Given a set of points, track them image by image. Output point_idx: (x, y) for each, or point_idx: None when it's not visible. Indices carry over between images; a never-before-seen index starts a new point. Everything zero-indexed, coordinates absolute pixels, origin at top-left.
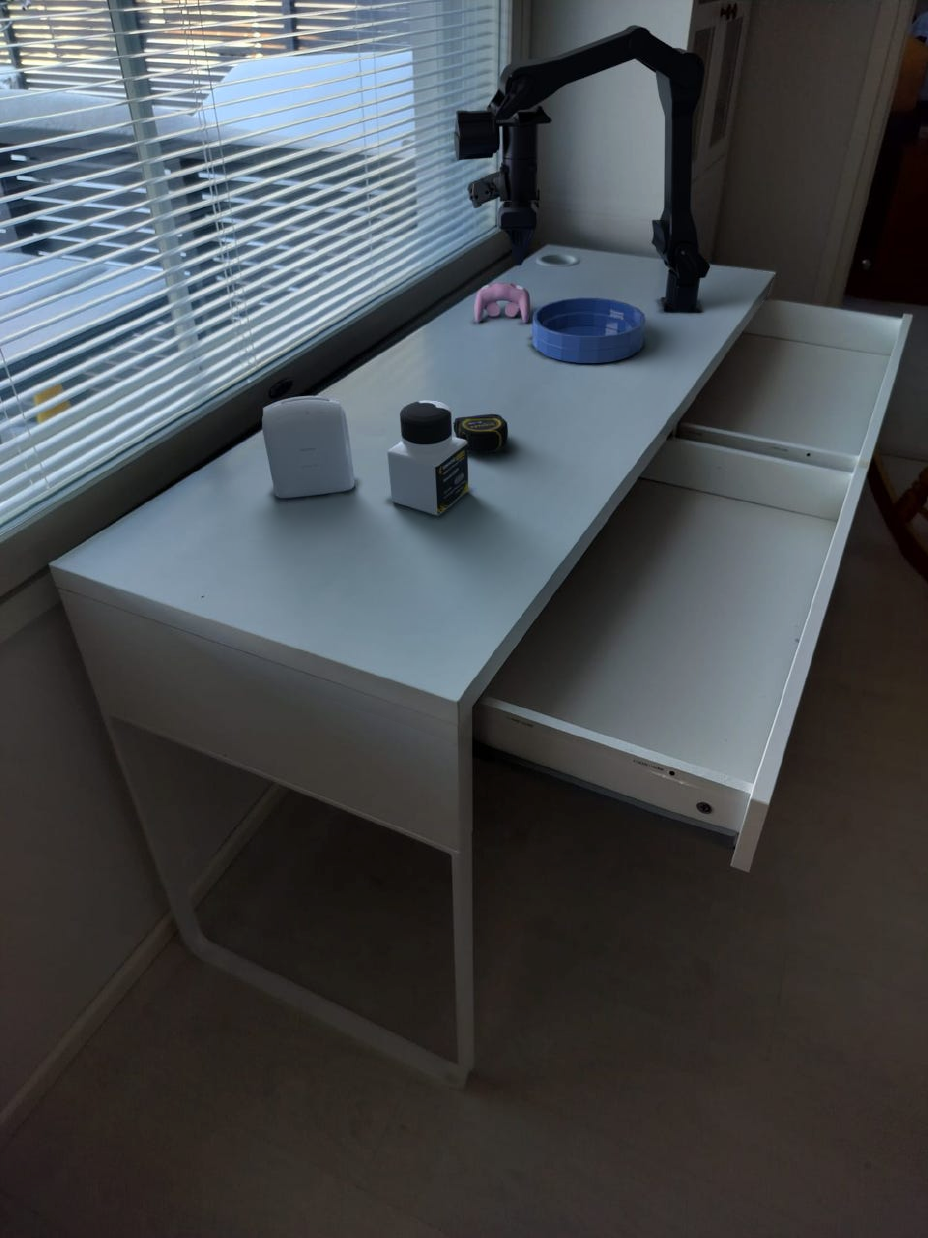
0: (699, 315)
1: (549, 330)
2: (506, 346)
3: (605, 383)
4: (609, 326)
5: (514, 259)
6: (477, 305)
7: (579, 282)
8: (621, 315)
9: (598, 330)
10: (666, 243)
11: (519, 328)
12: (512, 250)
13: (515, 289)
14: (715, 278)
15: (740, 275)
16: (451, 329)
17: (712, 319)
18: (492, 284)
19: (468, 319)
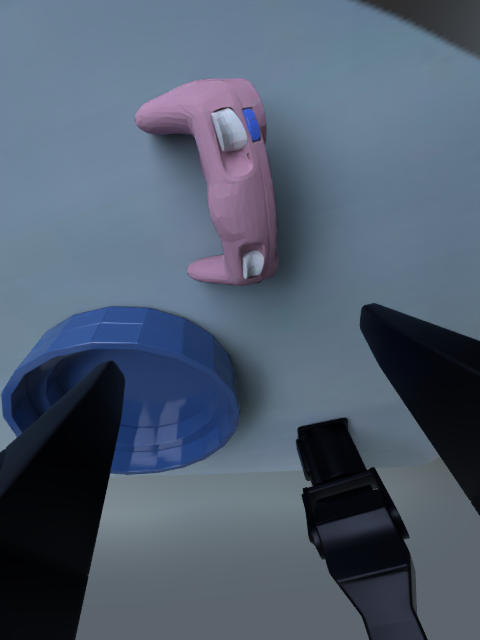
0: (291, 450)
1: (3, 395)
2: (33, 262)
3: (7, 429)
4: (212, 398)
5: (80, 383)
6: (155, 110)
7: (459, 304)
8: (219, 423)
9: (197, 386)
10: (323, 548)
11: (161, 259)
12: (32, 426)
13: (232, 258)
14: (422, 440)
15: (426, 452)
16: (41, 11)
17: (279, 459)
18: (252, 159)
19: (171, 64)
